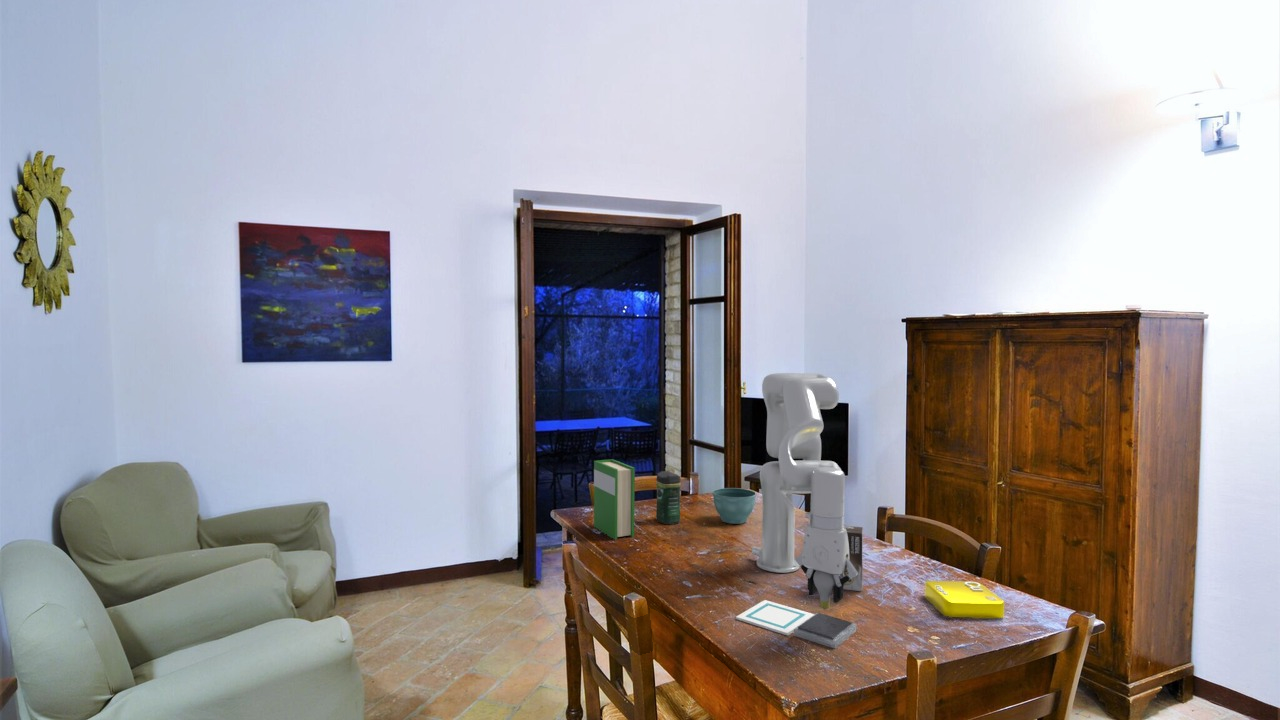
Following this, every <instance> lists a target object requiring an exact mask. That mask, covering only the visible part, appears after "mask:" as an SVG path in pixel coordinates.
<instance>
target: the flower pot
mask: <svg viewBox="0 0 1280 720" xmlns="http://www.w3.org/2000/svg"><path fill="white" fill-rule="evenodd" d="M712 496H713V503H714V508H715V510H716V513H717V514H718V515H719V517H720V521H721V522H722V523H723V522H724V523H727V524H733V525H734V524H736V525H737V524H745V523H746V522H747V521H748V518H749V517H750V515H751V514H752V512H753V510H754V508H755V503H756V498H757V492H756V491H753V490H750V489H746V488H741V487H740V488H739V487H737V488H736V487H723V488H717V489H714V490H713V491H712Z"/></svg>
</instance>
